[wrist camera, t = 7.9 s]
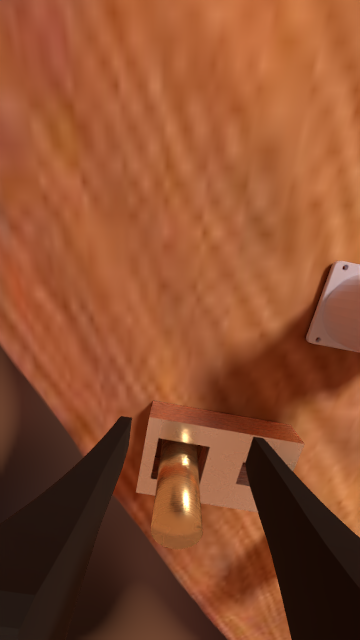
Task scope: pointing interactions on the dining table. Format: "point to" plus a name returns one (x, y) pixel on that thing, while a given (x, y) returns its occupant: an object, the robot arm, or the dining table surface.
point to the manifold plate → (215, 450)
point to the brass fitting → (177, 497)
